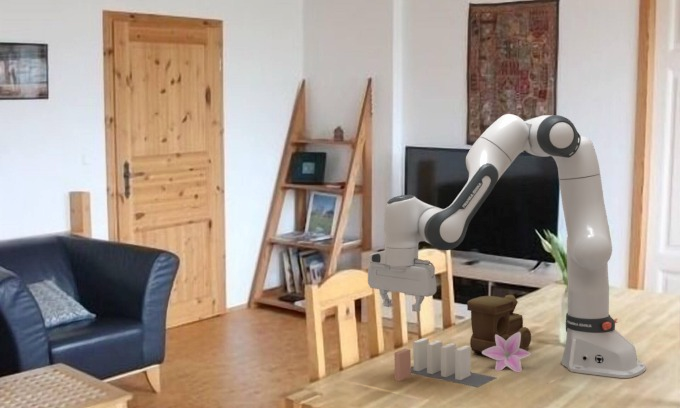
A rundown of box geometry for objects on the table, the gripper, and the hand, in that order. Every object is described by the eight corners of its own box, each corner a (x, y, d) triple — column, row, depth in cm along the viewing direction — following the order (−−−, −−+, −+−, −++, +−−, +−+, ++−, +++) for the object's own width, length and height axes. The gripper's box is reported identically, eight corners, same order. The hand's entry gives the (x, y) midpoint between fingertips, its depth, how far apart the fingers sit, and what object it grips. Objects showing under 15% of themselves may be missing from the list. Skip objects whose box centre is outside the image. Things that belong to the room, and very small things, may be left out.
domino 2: (428, 366, 256) (428, 338, 255) (418, 371, 253) (418, 342, 252) (423, 365, 257) (423, 337, 256) (413, 370, 254) (413, 341, 253)
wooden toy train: (497, 363, 261) (497, 305, 259) (464, 356, 269) (464, 300, 267) (534, 348, 276) (535, 293, 274) (502, 341, 283) (502, 288, 281)
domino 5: (470, 375, 248) (470, 346, 247) (460, 380, 244) (460, 350, 243) (465, 374, 249) (465, 345, 248) (455, 379, 245) (455, 349, 244)
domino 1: (410, 378, 248) (410, 349, 247) (399, 383, 244) (399, 353, 243) (405, 377, 249) (405, 348, 248) (394, 382, 245) (394, 352, 245)
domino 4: (456, 372, 251) (456, 343, 250) (446, 377, 247) (445, 347, 246) (451, 371, 252) (451, 342, 251) (441, 376, 248) (440, 346, 247)
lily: (476, 371, 257) (478, 347, 251) (497, 347, 264) (500, 322, 259) (514, 391, 251) (518, 366, 245) (535, 365, 258) (539, 340, 253)
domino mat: (497, 379, 246) (497, 377, 245) (477, 389, 238) (477, 387, 238) (422, 364, 261) (422, 362, 261) (401, 373, 253) (401, 371, 253)
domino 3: (442, 369, 254) (442, 341, 253) (432, 374, 250) (431, 345, 249) (437, 368, 255) (437, 340, 254) (427, 373, 251) (426, 344, 250)
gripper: (441, 259, 239) (441, 311, 240) (378, 251, 252) (378, 301, 254) (427, 263, 234) (427, 316, 236) (363, 254, 247) (364, 305, 249)
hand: (401, 308), depth 245 cm, fingers open, 8 cm apart
